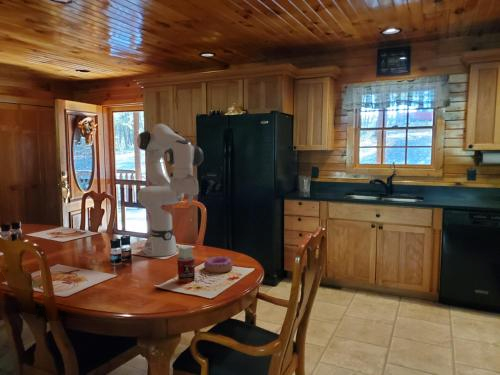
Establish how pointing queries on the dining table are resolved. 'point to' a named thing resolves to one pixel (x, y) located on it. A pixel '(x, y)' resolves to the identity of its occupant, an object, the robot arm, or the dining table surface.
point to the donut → (218, 264)
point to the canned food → (186, 269)
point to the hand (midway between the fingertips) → (184, 202)
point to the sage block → (185, 251)
